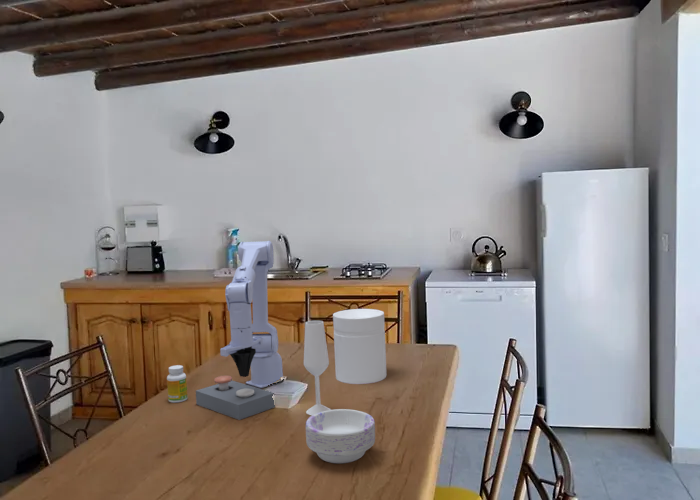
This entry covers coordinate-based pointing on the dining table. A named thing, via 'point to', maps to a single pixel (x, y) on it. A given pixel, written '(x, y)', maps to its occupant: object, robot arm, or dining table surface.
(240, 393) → the grey plunger
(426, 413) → the dining table surface
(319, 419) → the paper bowls
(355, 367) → the canister
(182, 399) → the supplement bottle
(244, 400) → the panel
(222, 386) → the red plunger
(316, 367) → the champagne flute
